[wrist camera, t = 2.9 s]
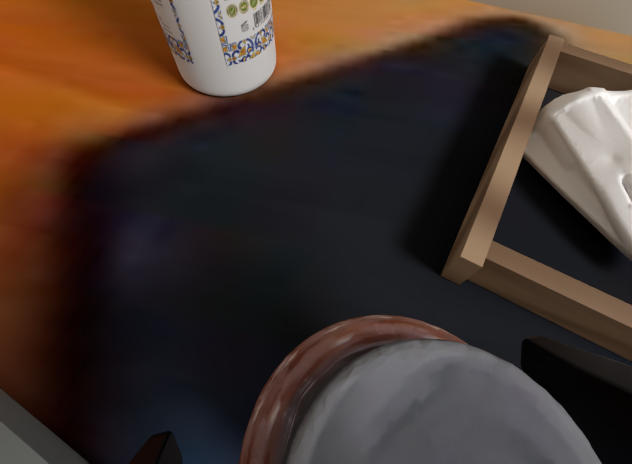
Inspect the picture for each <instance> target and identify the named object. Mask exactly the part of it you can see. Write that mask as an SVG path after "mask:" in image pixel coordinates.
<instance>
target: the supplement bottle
mask: <svg viewBox="0 0 632 464" xmlns="http://www.w3.org/2000/svg"><path fill="white" fill-rule="evenodd" d="M239 464H602V463H601V462H600V460H599V458H598V457H597V455H596V454H595V452H594V450H593V449H592V447H591V445H590V443H589V441H588V440H587V438H586V437H585V435H584V434H583V432H582V431H581V430H580V429H579V427H578V426H577V425H576V424H575V423H574V421H573V420H572V418H571V417H570V416H569V414H568V413H567V412H566V411H565V409H564V408H563V407H562V406H561V405H560V404H559V403H558V402H557V401H556V400H555V399H554V398H553V397H552V396H551V395H550V394H549V393H548V392H547V391H546V390H545V389H544V388H542V387H541V386H540V385H538V384H537V383H536V382H535V381H533V380H532V379H531V378H530V377H529V376H528V375H526V374H525V373H524V372H523V371H521V370H520V369H518V368H517V367H515V366H514V365H512V364H511V363H509V362H507V361H505V360H502V359H500V358H498V357H496V356H494V355H492V354H491V353H488V352H486V351H484V350H481V349H479V348H476V347H473V346H470V345H468V344H467V343H465V342H464V341H462V340H461V339H459V338H458V337H456V336H454V335H452V334H450V333H449V332H447V331H445V330H443V329H441V328H439V327H436V326H433V325H431V324H428V323H426V322H423V321H420V320H416V319H411V318H407V317H401V316H391V315H370V316H363V317H358V318H352V319H348V320H345V321H341V322H338V323H335V324H333V325H331V326H329V327H326V328H324V329H322V330H321V331H319V332H317V333H315V334H313V335H312V336H310V337H309V338H307V339H306V340H304V341H303V342H302V343H301V344H300V345H299V346H297V347H296V348H295V349H294V350H293V351H292V352H291V353H289V354H288V355H287V356H286V357H285V358H284V360H283V361H282V362H281V363H280V365H279V366H278V367H277V368H276V370H275V371H274V372H273V373H272V375H271V377H270V378H269V380H268V382H267V383H266V384H265V386H264V388H263V390H262V391H261V393H260V395H259V397H258V399H257V401H256V404H255V406H254V408H253V411H252V414H251V417H250V420H249V423H248V426H247V429H246V432H245V435H244V439H243V444H242V450H241V455H240V461H239Z"/></svg>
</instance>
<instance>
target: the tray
mask: <svg viewBox="0 0 632 464" xmlns="http://www.w3.org/2000/svg"><path fill="white" fill-rule="evenodd" d="M0 464H90V463H88V462H87V461H86V460H85V459H84V458H83V457H81V456H80V455H79V454H78V453H77V452H75V451H74V450H73V449H72V448H71V447H69V446H68V445H67V444H66V443H65V442H64V441H62V440H61V439H60V438H59V437H58V436H56V435H55V434H54V433H53V432H52V431H51V430H49V429H48V428H47V427H46V426H45V425H43V424H42V423H41V422H40V421H39V420H37V419H36V418H35V417H34V416H33V415H32V414H30V413H29V412H28V411H27V410H26V409H24V408H23V407H22V406H21V405H20V404H18V403H17V402H16V401H15V400H14V399H13V398H11V397H10V396H9V395H8V394H7V393H5V392H4V391H3V390H2V389H1V388H0Z"/></svg>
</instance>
